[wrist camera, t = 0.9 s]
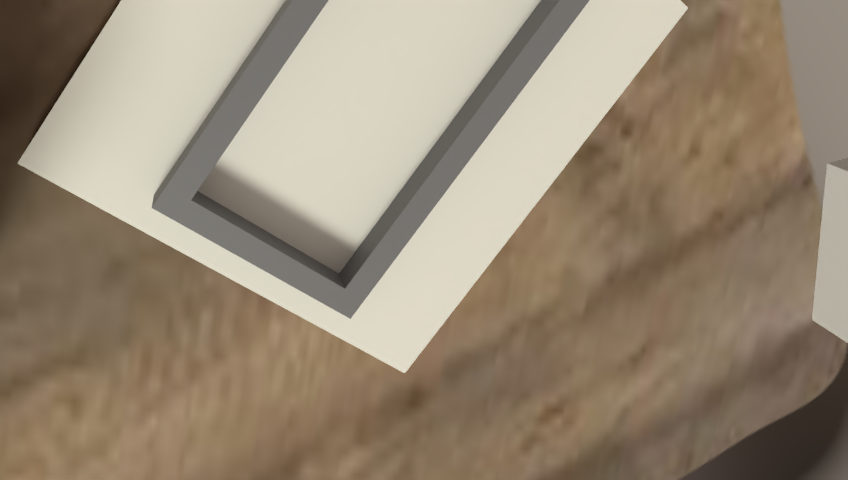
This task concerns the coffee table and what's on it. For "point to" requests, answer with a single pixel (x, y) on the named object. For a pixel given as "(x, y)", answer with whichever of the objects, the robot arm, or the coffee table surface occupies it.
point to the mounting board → (342, 139)
